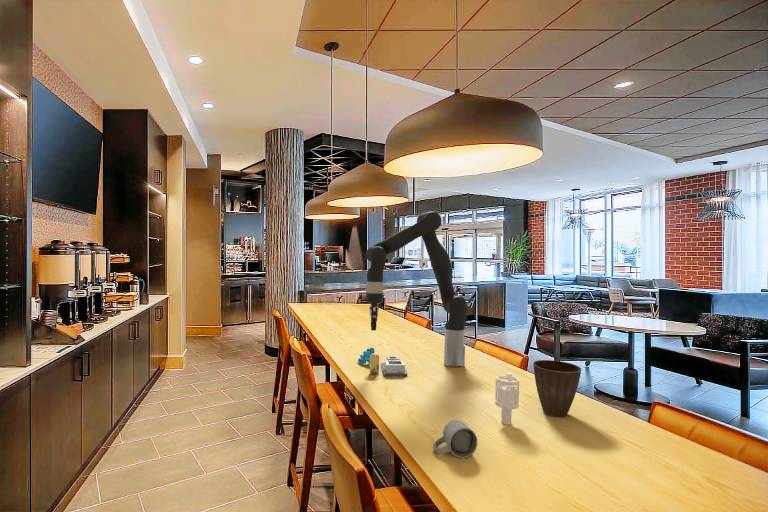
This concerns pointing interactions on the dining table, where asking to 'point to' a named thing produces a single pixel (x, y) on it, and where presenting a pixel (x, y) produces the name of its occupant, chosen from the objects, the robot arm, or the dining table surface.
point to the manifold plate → (393, 367)
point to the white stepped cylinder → (507, 396)
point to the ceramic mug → (457, 440)
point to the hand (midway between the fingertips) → (373, 328)
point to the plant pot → (556, 385)
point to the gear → (366, 356)
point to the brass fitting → (374, 364)
